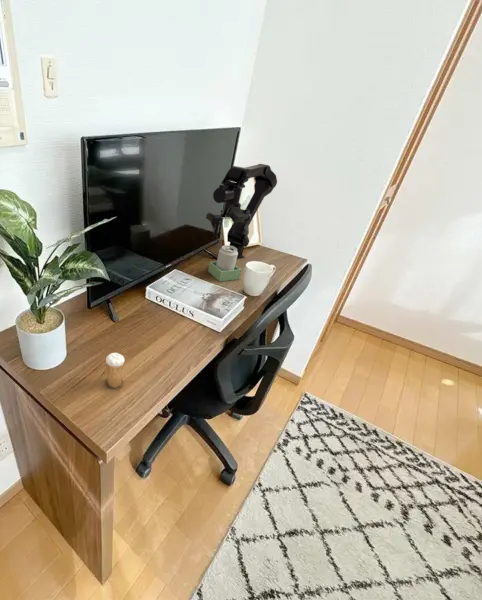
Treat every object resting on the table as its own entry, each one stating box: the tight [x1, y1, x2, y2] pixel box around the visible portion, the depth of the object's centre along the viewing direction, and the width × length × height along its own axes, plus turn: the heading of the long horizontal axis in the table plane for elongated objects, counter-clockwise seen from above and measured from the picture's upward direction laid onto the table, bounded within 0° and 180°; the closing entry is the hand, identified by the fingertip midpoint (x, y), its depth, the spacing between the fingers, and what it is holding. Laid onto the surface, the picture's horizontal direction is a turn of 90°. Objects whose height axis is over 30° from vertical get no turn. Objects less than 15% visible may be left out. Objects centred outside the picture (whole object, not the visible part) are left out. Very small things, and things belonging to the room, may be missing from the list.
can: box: [216, 244, 238, 271], centre depth 133 cm, size 8×8×12 cm
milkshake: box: [105, 352, 126, 389], centre depth 79 cm, size 4×5×10 cm
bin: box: [207, 260, 242, 282], centre depth 135 cm, size 9×9×4 cm
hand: (224, 235), depth 140 cm, fingers open, 9 cm apart
